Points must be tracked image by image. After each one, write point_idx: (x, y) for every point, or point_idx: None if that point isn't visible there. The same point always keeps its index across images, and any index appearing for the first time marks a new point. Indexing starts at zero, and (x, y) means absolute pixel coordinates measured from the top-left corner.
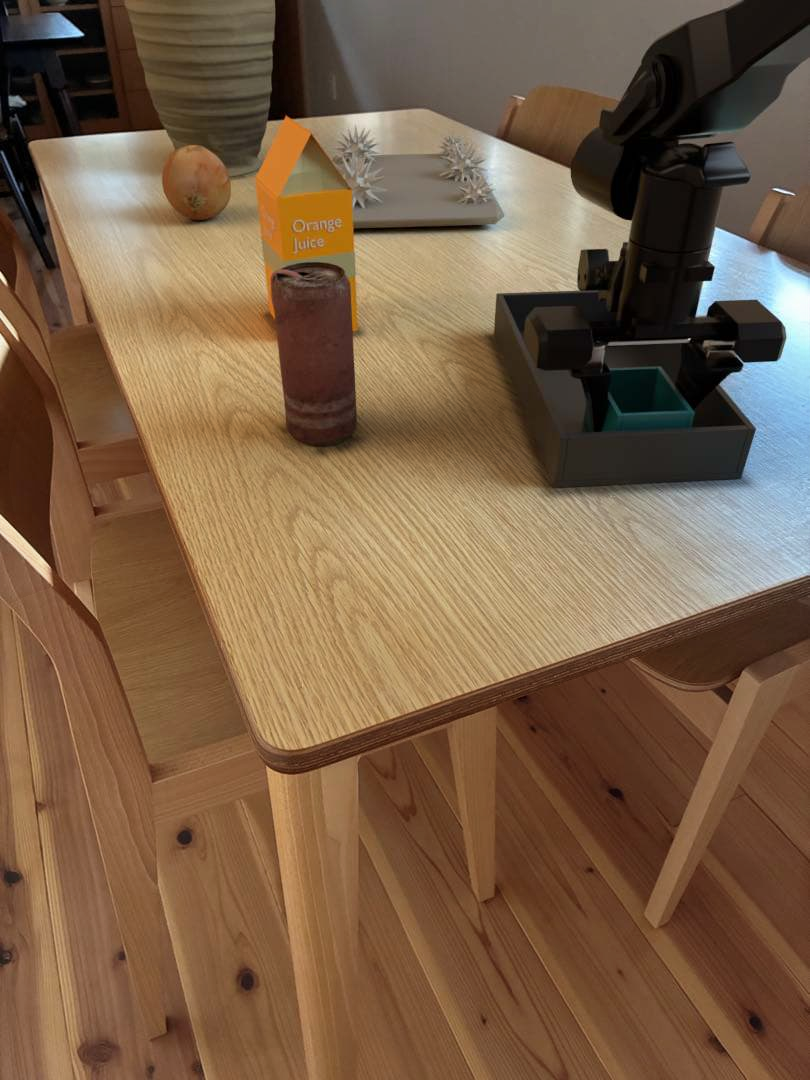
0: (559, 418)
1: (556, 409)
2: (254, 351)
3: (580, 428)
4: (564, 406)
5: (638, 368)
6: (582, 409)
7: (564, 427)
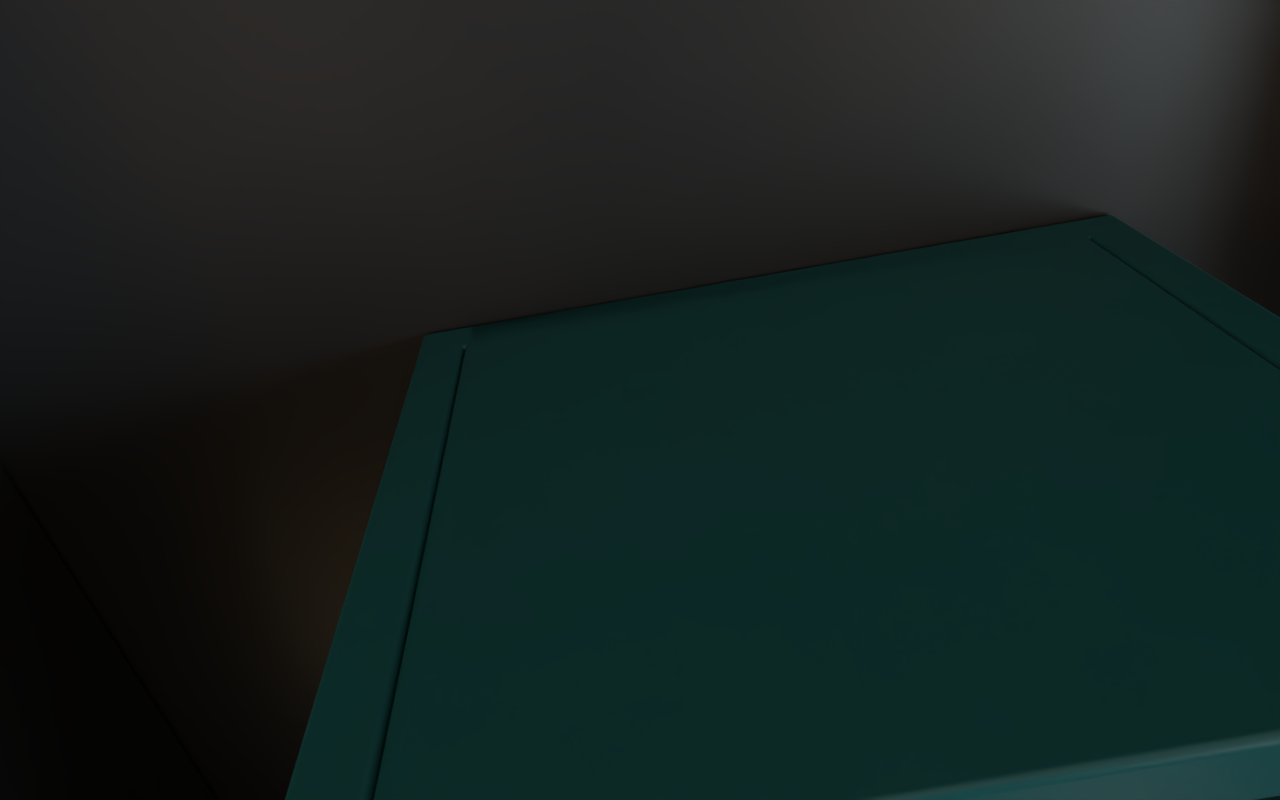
0: (168, 298)
1: (87, 108)
2: None
3: None
4: (172, 6)
5: (1273, 779)
6: (405, 76)
7: (248, 460)
